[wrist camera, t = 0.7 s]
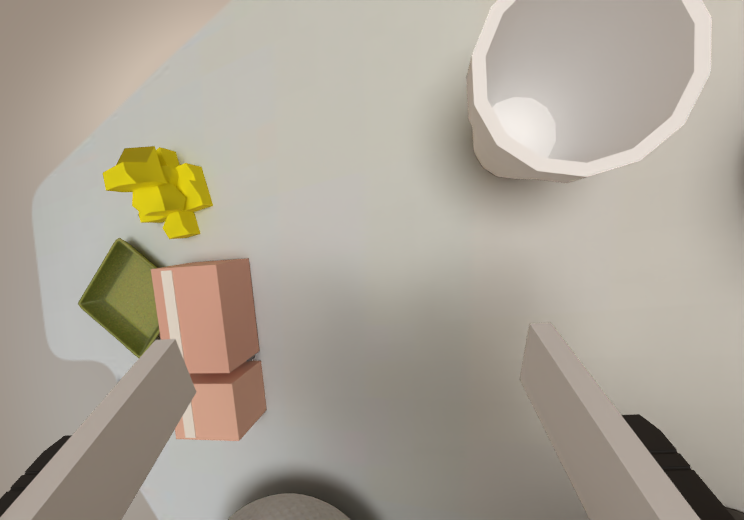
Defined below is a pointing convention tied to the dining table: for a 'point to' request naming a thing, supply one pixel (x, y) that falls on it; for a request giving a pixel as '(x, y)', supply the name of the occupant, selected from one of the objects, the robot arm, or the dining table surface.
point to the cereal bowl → (288, 509)
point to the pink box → (224, 404)
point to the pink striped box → (208, 313)
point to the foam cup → (583, 83)
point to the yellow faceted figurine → (161, 188)
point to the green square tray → (124, 298)
